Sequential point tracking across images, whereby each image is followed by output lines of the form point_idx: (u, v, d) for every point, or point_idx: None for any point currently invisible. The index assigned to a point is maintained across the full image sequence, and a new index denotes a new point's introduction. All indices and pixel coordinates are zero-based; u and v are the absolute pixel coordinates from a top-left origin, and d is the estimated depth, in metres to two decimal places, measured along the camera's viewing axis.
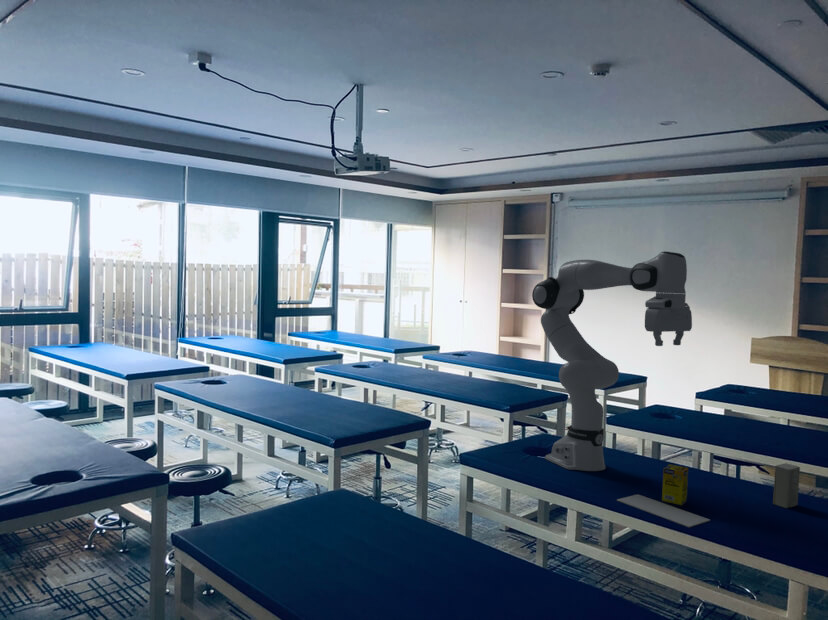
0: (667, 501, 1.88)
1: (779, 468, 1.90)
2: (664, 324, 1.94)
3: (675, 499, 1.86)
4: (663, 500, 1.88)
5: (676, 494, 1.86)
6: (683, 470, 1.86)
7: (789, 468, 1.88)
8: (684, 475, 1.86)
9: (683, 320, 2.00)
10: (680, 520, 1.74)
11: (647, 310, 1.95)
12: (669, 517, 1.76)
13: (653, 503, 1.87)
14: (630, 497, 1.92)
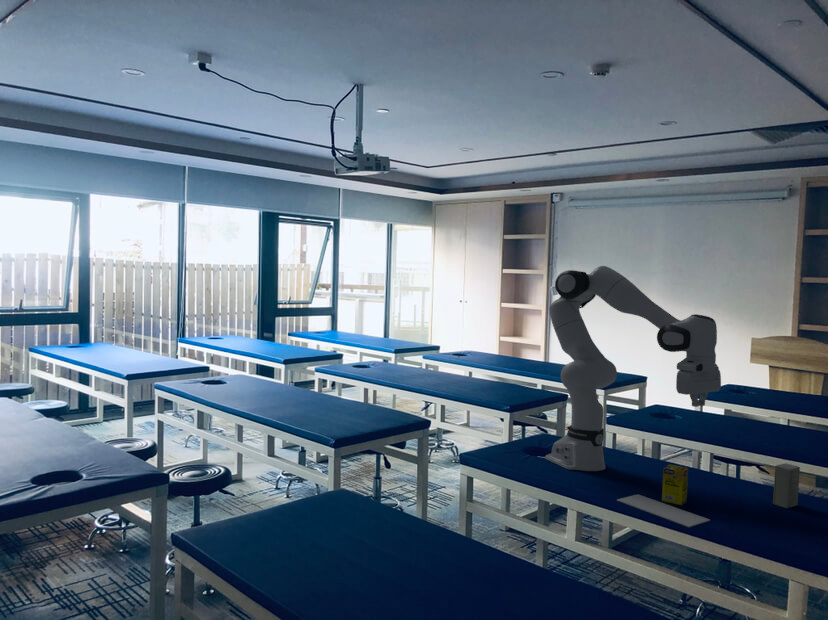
0: (667, 501, 1.88)
1: (779, 468, 1.90)
2: (695, 386, 2.00)
3: (675, 499, 1.86)
4: (663, 500, 1.88)
5: (676, 494, 1.86)
6: (683, 470, 1.86)
7: (789, 468, 1.88)
8: (685, 475, 1.86)
9: (713, 381, 2.05)
10: (680, 520, 1.74)
11: (679, 373, 2.00)
12: (669, 517, 1.76)
13: (653, 503, 1.87)
14: (630, 497, 1.92)
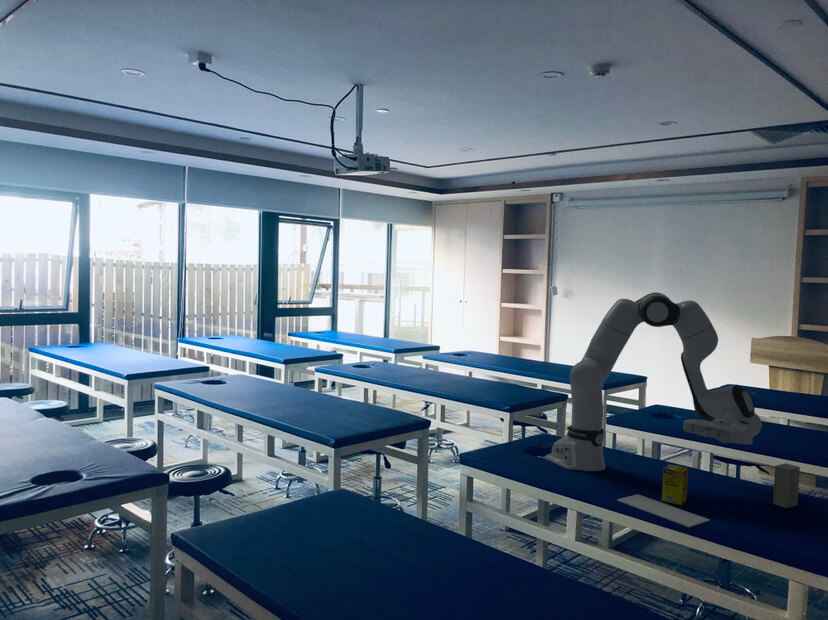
0: (667, 501, 1.88)
1: (779, 468, 1.90)
2: None
3: (675, 499, 1.86)
4: (663, 500, 1.88)
5: (676, 494, 1.86)
6: (683, 470, 1.86)
7: (789, 468, 1.88)
8: (684, 475, 1.86)
9: None
10: (680, 520, 1.74)
11: (750, 430, 1.94)
12: (669, 517, 1.76)
13: (653, 503, 1.87)
14: (630, 497, 1.92)
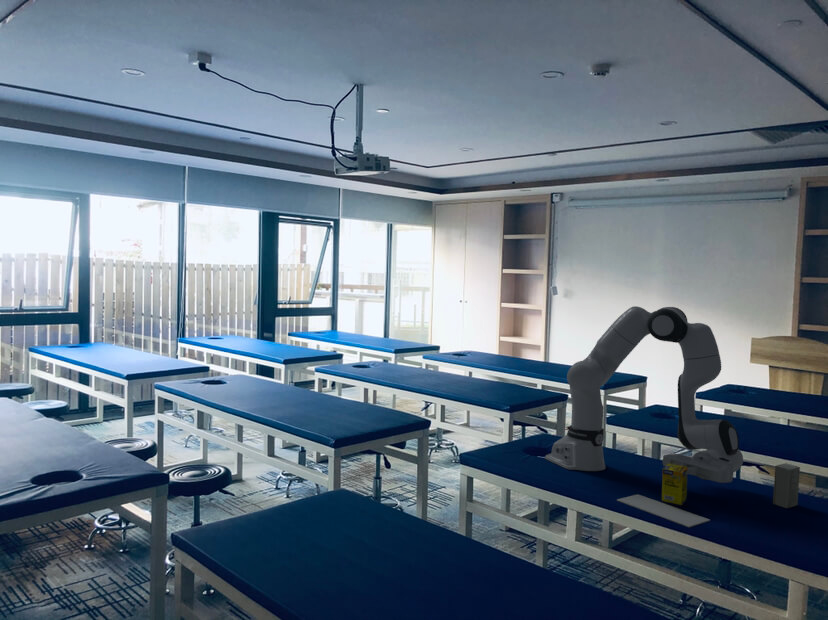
0: (667, 501, 1.88)
1: (779, 468, 1.90)
2: None
3: (675, 499, 1.86)
4: (663, 500, 1.88)
5: (676, 494, 1.86)
6: (682, 471, 1.85)
7: (789, 468, 1.88)
8: (684, 475, 1.85)
9: None
10: (680, 520, 1.74)
11: (730, 468, 1.89)
12: (669, 517, 1.76)
13: (653, 503, 1.87)
14: (630, 497, 1.92)
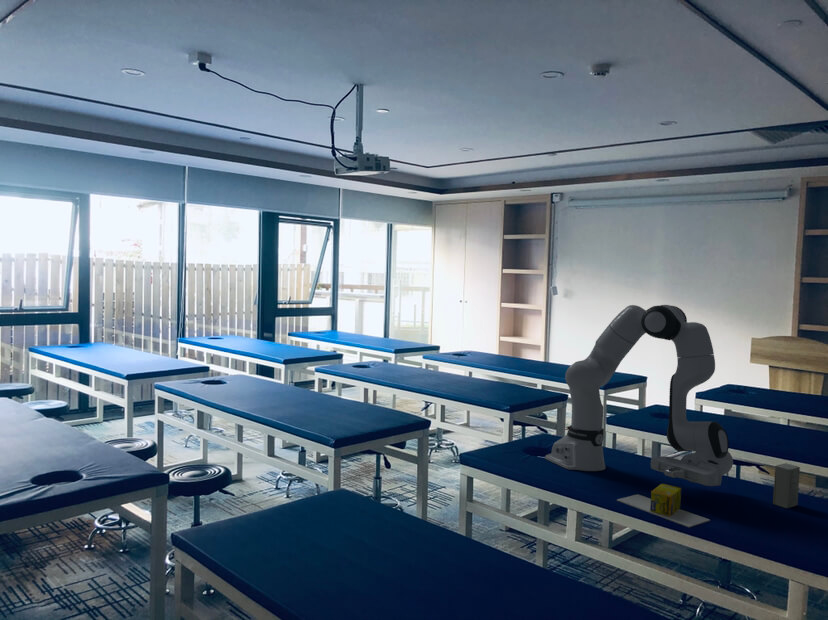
0: None
1: (779, 468, 1.90)
2: None
3: None
4: None
5: None
6: (669, 511, 1.77)
7: (789, 468, 1.88)
8: (672, 509, 1.78)
9: None
10: (680, 520, 1.74)
11: (718, 471, 1.86)
12: (669, 517, 1.76)
13: None
14: (630, 497, 1.92)
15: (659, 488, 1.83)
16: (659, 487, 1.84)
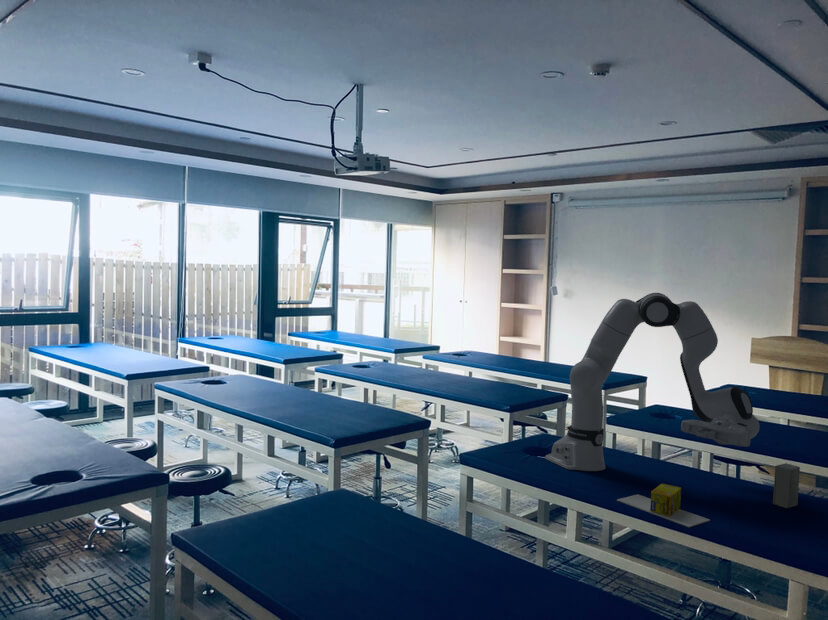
0: None
1: (779, 468, 1.90)
2: None
3: None
4: None
5: None
6: (669, 511, 1.77)
7: (789, 468, 1.88)
8: (672, 509, 1.78)
9: None
10: (680, 520, 1.74)
11: (748, 432, 1.94)
12: (669, 517, 1.76)
13: None
14: (630, 497, 1.92)
15: (659, 488, 1.83)
16: (659, 487, 1.84)
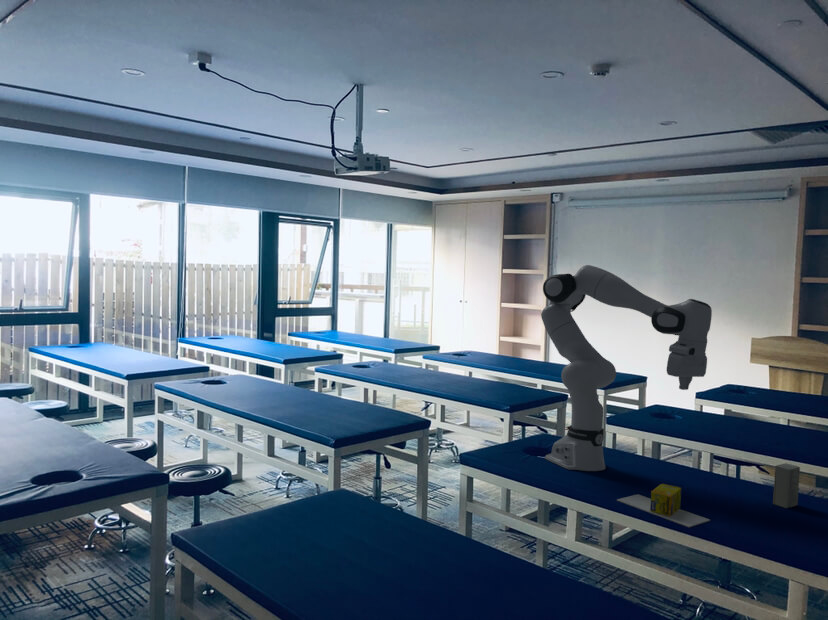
0: None
1: (779, 468, 1.90)
2: (684, 369, 2.01)
3: None
4: None
5: None
6: (669, 511, 1.77)
7: (789, 468, 1.88)
8: (672, 509, 1.78)
9: (700, 366, 2.08)
10: (680, 520, 1.74)
11: (671, 355, 2.01)
12: (669, 517, 1.76)
13: None
14: (630, 497, 1.92)
15: (659, 488, 1.83)
16: (659, 487, 1.84)
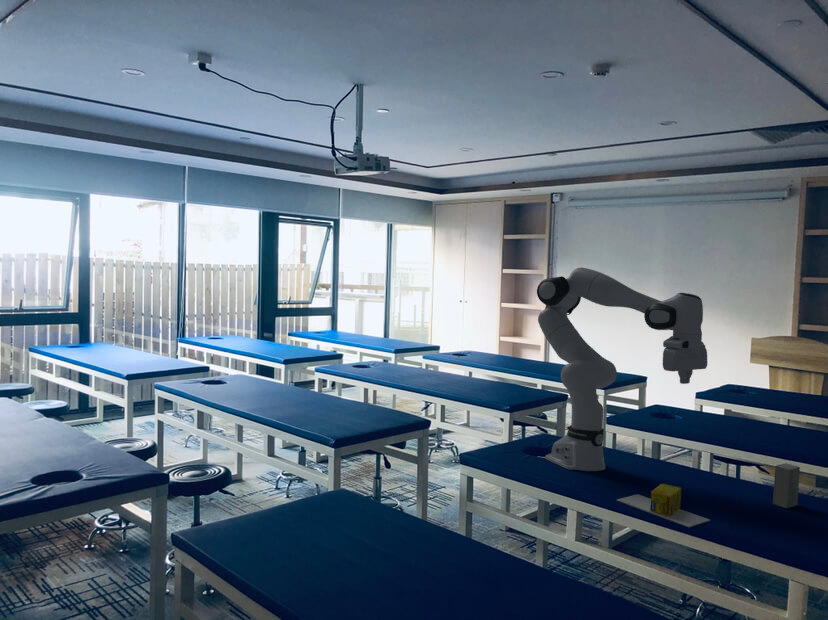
0: None
1: (779, 468, 1.90)
2: (681, 363, 2.02)
3: None
4: None
5: None
6: (669, 511, 1.77)
7: (789, 468, 1.88)
8: (672, 509, 1.78)
9: (699, 359, 2.07)
10: (680, 520, 1.74)
11: (665, 350, 2.02)
12: (669, 517, 1.76)
13: None
14: (630, 497, 1.92)
15: (659, 488, 1.83)
16: (659, 487, 1.84)
